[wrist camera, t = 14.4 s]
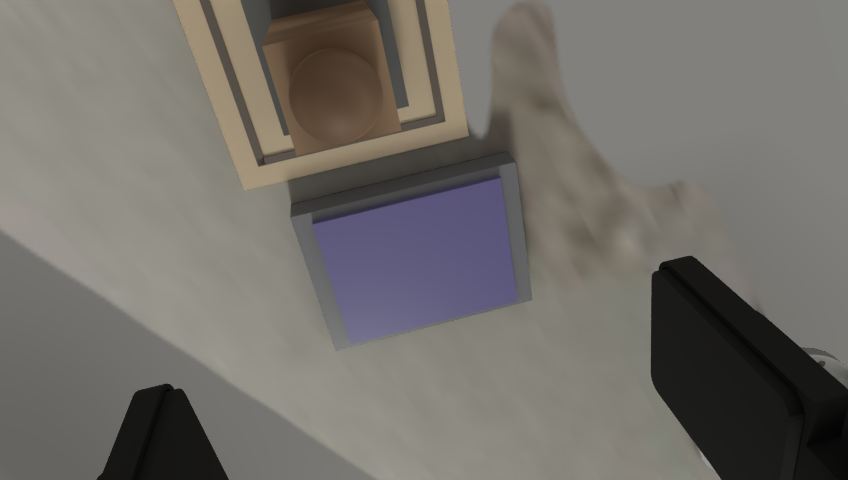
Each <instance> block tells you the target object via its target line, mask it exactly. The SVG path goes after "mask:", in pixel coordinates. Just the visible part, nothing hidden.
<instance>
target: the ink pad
mask: <svg viewBox="0 0 848 480" xmlns="http://www.w3.org/2000/svg"><path fill="white" fill-rule="evenodd" d="M290 218H291V221H292V224H293V227H294V229H295V232H296V235H297V238H298V241H299V244H300V247H301V250H302V253H303V256H304V259H305V262H306V265H307V268H308V271H309V273H310V276H311V279H312V282H313V285H314V288H315V291H316V294H317V297H318V300H319V303H320V306H321V309H322V312H323V314H324V317H325V320H326V323H327V326H328V329H329V332H330V335H331V338H332V341H333V344H334V347H335V350H336V351H338V350H342V349H346V348H349V347H353V346H357V345H361V344H365V343H369V342H372V341H376V340H380V339H384V338H388V337H392V336H395V335H399V334H403V333H407V332H411V331H415V330H418V329H422V328H426V327H430V326H434V325H438V324H441V323H445V322H449V321H453V320H457V319H461V318H464V317H468V316H472V315H476V314H480V313H484V312H487V311H491V310H495V309H499V308H503V307H507V306H510V305H514V304H518V303H522V302H526V301H530V300H532V293H531V285H530V276H529V268H528V259H527V251H526V243H525V234H524V226H523V217H522V209H521V200H520V192H519V183H518V175H517V167H516V161H515V160H514V159H513V158H512V157H511V156H510V154H509V153H508V152H503V153H499V154H495V155H491V156H487V157H483V158H479V159H475V160H470V161H466V162H462V163H458V164H454V165H450V166H446V167H442V168H438V169H434V170H430V171H426V172H422V173H417V174H413V175H409V176H405V177H401V178H397V179H393V180H389V181H385V182H381V183H377V184H373V185H369V186H365V187H360V188H356V189H352V190H348V191H344V192H340V193H336V194H332V195H328V196H324V197H320V198H316V199H312V200H307V201H303V202H299V203H295V204H291V216H290Z"/></svg>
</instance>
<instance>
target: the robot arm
mask: <svg viewBox="0 0 848 480" xmlns="http://www.w3.org/2000/svg"><path fill="white" fill-rule="evenodd" d="M651 377H652V381H653V384H654V387H655V389H656V390H657V392H658V393H659V395H660V396H661V398H662V399H663V400H664V402H665V403H666V404H667V406H668V407H669V408H670V410H671V411H672V413H673V414H674V415H675V417H676V418H677V419H678V421H679V422H680V423H681V425H682V426H683V428H684V429H685V430H686V432H687V433H688V434H689V436H690V437H691V438H692V440H693V441H694V445H695V448H696V450H697V452H698V454H699V456H700V457H701V458H702V459H703V461H704V462H705V463H706V465H707V466H708V467H709V468H711V469H712V470H713V471H715V472H716V473H717V474H718V475H719V477H720V478H721V479H722V480H848V369H847V368H846V367H845V366H844V365H843V364H842V363H841V362H840V361H838V360H837V359H836V358H835V357H834V356H832V355H830V354H828V353H827V352H825V351H821V350H818V349H814V348H800V347H799V346H798V345H797V344H796V343H795V342H793V341H792V340H791V339H790V338H789V337H788V336H786V335H785V334H784V333H783V332H782V331H781V330H780V329H778V328H777V327H776V326H775V325H774V324H773V323H772V322H770V321H769V320H768V319H767V318H766V317H765V316H763V315H762V314H760V313H759V312H757V311H755V310H754V309H753V308H752V307H751V306H750V305H748V304H747V303H746V302H745V301H744V300H743V299H742V298H740V297H739V296H738V295H737V294H736V293H735V292H734V291H732V290H731V289H730V288H729V287H728V286H727V285H726V284H724V283H723V282H722V281H721V280H720V279H719V278H718V277H716V276H715V275H714V274H713V273H712V272H711V271H709V270H708V269H707V268H706V267H705V266H704V265H703V264H701V263H700V262H699V261H698V260H697V259H696V258H694V257H693V256H686V257H682V258H678V259H674V260H669V261H665V262H662V263H661V264H660V266H659V271H655V272H654V273H653V274H652V297H651ZM97 480H229V479H228V477H227V475H226V473H225V471H224V469H223V467H222V465H221V463H220V461H219V459H218V457H217V455H216V453H215V451H214V450H213V448H212V446H211V444H210V442H209V440H208V438H207V436H206V434H205V432H204V430H203V428H202V426H201V424H200V422H199V420H198V418H197V416H196V414H195V412H194V410H193V408H192V406H191V404H190V402H189V400H188V398H187V396H186V394H185V393H184V391H183V390H182V389H175V390H174V388H173V387H172V386H171V385H170V384H163V385H159V386H155V387H151V388H147V389H142V390H139V391H137V392H136V393H135V394H134V396H133V398H132V400H131V403H130V405H129V408H128V410H127V413H126V415H125V418H124V420H123V423H122V425H121V428H120V430H119V433H118V436H117V438H116V441H115V443H114V446H113V448H112V451H111V453H110V456H109V459H108V461H107V463H106V466H105V468H104V471H103V473H102V474H101V475H100V476H99V477H98V478H97Z"/></svg>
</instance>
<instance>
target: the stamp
mask: <svg viewBox="0 0 848 480" xmlns="http://www.w3.org/2000/svg"><path fill="white" fill-rule="evenodd" d="M240 1H241V4H242V8H243V11H244V14H245V17H246V20H247V23H248V26H249V29H250V32H251V35H252V39H253V42H254V45H255V48H256V51H257V54H258V57H259V60H260V63H261V66H262V70H263V73H264V76H265V79H266V82H267V85H268V88H269V91H270V94H271V98H272V101H273V104H274V107H275V110H276V113H277V116H278V119H279V122H280V125H281V129H282V132H283V135H284V136H287V135H290V136H291V140H292V143H293V146H294V149H295V152H296V155H297V156H298V155H302V154H306V153H310V152H314V151H319V150H323V149H327V148H331V147H335V146H339V145H344V144H348V143H352V142H356V141H360V140H364V139H368V138H373V137H377V136H381V135H385V134H389V133H393V132H397V131H402V130H401V125H400V121H399V116H398V111H397V109H400V108H404V107H408V106H409V103H408V98H407V93H406V88H405V83H404V79H403V74H402V69H401V64H400V59H399V54H398V49H397V45H396V40H395V35H394V30H393V25H392V20H391V15H390V10H389V6H388V1H387V0H240Z"/></svg>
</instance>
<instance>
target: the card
mask: <svg viewBox="0 0 848 480" xmlns="http://www.w3.org/2000/svg"><path fill="white" fill-rule="evenodd" d="M387 1H388V6H389V10H390V15H391V20H392V25H393V30H394V35H395V40H396V45H397V49H398V54H399V59H400V64H401V69H402V74H403V79H404V83H405V88H406V93H407V98H408V103H409V106H408V107H404V108H400V109H397V111H398V116H399V121H400V125H401V130H402V131H397V132H393V133H389V134H385V135H381V136H377V137H373V138H368V139H364V140H360V141H356V142H352V143H348V144H344V145H339V146H335V147H331V148H327V149H323V150H319V151H314V152H310V153H306V154H302V155H298V156H297V155H296V152H295V149H294V146H293V143H292V140H291V136H290V135H287V136H284V135H283V132H282V129H281V125H280V122H279V119H278V116H277V113H276V110H275V107H274V104H273V101H272V98H271V94H270V91H269V88H268V85H267V82H266V79H265V76H264V73H263V70H262V66H261V63H260V60H259V57H258V54H257V51H256V48H255V45H254V42H253V39H252V35H251V32H250V29H249V26H248V23H247V20H246V17H245V14H244V11H243V8H242V4H241V1H240V0H173V2H174V5H175V7H176V10H177V13H178V15H179V18H180V21H181V23H182V26H183V29H184V31H185V34H186V37H187V39H188V42H189V45H190V47H191V50H192V53H193V55H194V58H195V61H196V63H197V66H198V69H199V71H200V74H201V77H202V79H203V82H204V85H205V87H206V90H207V93H208V95H209V98H210V100H211V103H212V106H213V108H214V111H215V114H216V116H217V119H218V122H219V124H220V127H221V130H222V132H223V135H224V138H225V140H226V143H227V146H228V148H229V151H230V154H231V156H232V159H233V162H234V164H235V167H236V170H237V172H238V175H239V178H240V180H241V183H242V186H243V188H244V191H245V190H249V189H253V188H257V187H261V186H266V185H270V184H274V183H278V182H282V181H286V180H290V179H294V178H299V177H303V176H307V175H311V174H315V173H319V172H323V171H327V170H331V169H336V168H340V167H344V166H348V165H352V164H356V163H360V162H364V161H369V160H373V159H377V158H381V157H385V156H389V155H393V154H397V153H401V152H406V151H410V150H414V149H418V148H422V147H426V146H430V145H434V144H439V143H443V142H447V141H451V140H455V139H459V138H463V137H467V136H469V133H468V127H467V121H466V114H465V108H464V102H463V95H462V89H461V83H460V76H459V70H458V64H457V57H456V51H455V45H454V38H453V32H452V26H451V20H450V13H449V7H448V1H447V0H387Z"/></svg>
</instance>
